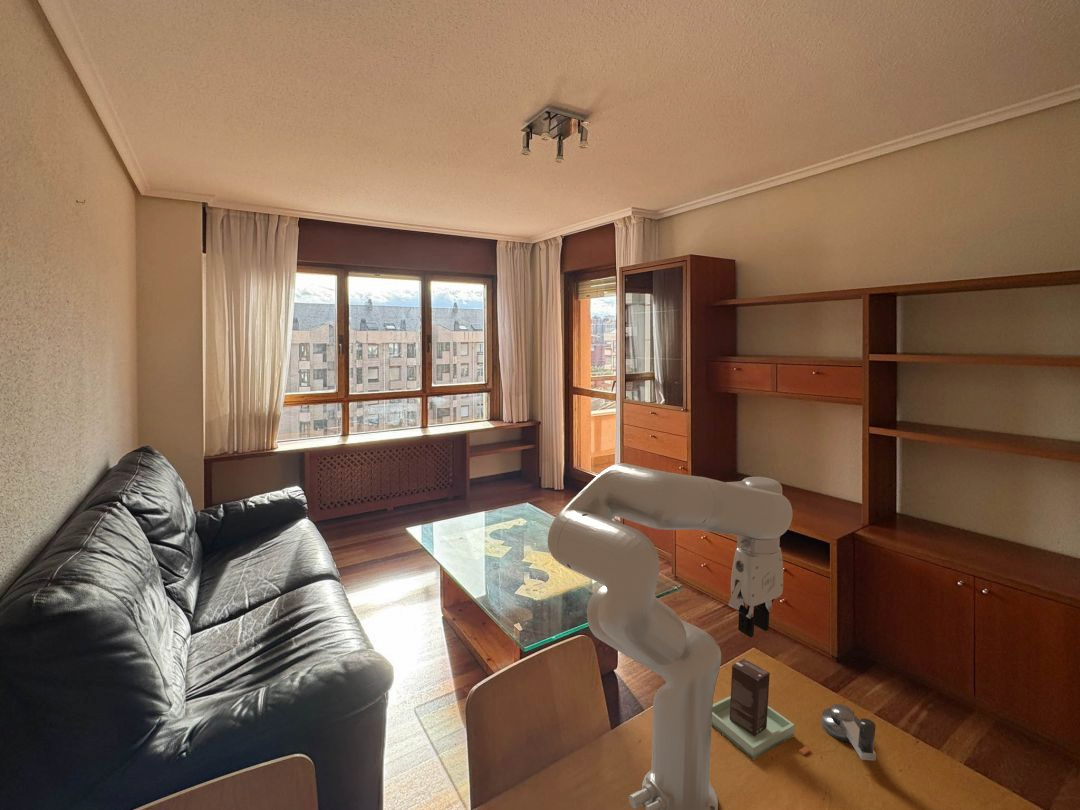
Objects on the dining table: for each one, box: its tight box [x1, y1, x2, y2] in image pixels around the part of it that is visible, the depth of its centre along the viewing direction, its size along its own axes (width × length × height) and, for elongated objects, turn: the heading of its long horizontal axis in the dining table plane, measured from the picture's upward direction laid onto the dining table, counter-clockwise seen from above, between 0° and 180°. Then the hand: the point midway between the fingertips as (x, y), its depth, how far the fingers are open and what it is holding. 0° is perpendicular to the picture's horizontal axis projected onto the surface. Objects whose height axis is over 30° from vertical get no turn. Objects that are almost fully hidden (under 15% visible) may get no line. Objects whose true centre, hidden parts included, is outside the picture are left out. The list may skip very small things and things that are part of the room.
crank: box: [830, 703, 877, 762], centre depth 100 cm, size 12×4×6 cm, turn 174°
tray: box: [712, 695, 795, 761], centre depth 105 cm, size 12×12×2 cm
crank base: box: [798, 707, 861, 756], centre depth 102 cm, size 16×7×2 cm, turn 119°
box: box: [730, 658, 771, 736], centre depth 105 cm, size 6×4×12 cm
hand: (753, 629), depth 103 cm, fingers open, 3 cm apart
